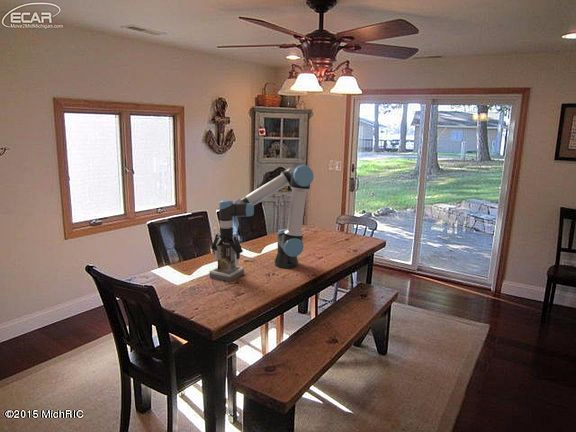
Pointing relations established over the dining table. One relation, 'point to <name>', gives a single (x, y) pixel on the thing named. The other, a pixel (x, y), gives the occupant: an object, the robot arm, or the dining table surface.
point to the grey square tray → (226, 274)
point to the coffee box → (226, 258)
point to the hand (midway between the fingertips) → (226, 262)
